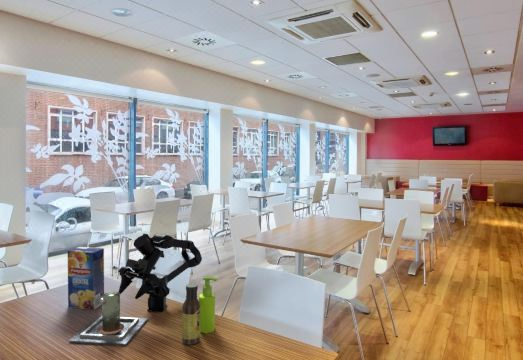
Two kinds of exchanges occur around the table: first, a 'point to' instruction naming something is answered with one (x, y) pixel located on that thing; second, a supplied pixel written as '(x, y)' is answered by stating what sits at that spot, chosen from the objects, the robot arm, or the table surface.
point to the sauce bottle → (191, 316)
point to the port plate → (116, 338)
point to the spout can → (110, 311)
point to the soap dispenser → (207, 307)
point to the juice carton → (85, 277)
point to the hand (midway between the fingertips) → (127, 296)
